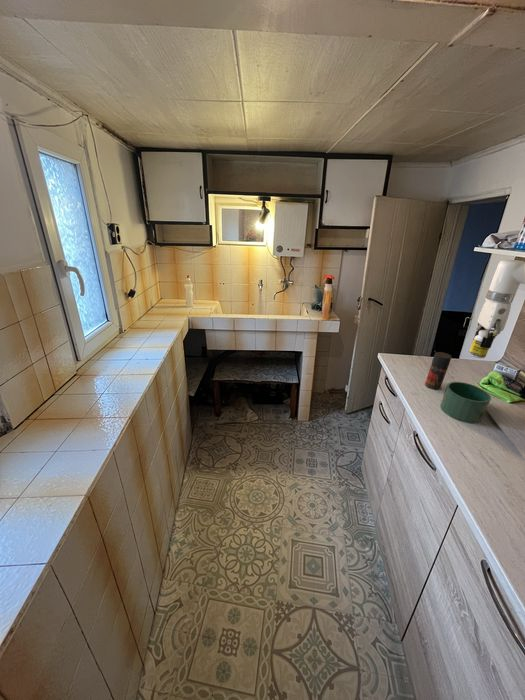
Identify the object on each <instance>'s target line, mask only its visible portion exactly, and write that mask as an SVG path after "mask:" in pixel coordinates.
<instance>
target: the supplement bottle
mask: <svg viewBox="0 0 525 700" xmlns="http://www.w3.org/2000/svg"><path fill="white" fill-rule="evenodd" d="M491 332H492V331H489V334H490V333H491ZM485 334H486V330H480V331H479V335H477V336H475V335H474V336H475V338H474V337H473V339H474V340H473V339H472V342H471V345H470V348H469V350H468V355H469V356H471V357H473V358H477V359H485V358H486V357H487V355H488V352H489V350H490V348H481V347H480V344H481V342H482V339H483V337H485Z"/></svg>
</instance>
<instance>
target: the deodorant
mask: <svg viewBox="0 0 525 700" xmlns="http://www.w3.org/2000/svg"><path fill="white" fill-rule="evenodd" d="M451 359H452V355H451V354H449V353H446V352H443V351H436V352H434V355H433V358H432V361H431V364H430V368H429V369H428V373H427V376H426V380H425V382H424V386H425V387H426V388H428V389H430V390H433V391H440V390H441V388H442V385H443V382H444V379H445V378H446V374H447V371H448V369H449V365H450V363H451Z"/></svg>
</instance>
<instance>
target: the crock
mask: <svg viewBox="0 0 525 700" xmlns="http://www.w3.org/2000/svg"><path fill="white" fill-rule="evenodd" d="M491 401H492V396H491V394H490V393H488V392H487V391H485V390H484V389H483V388H480V387H479V386H476V385H473V384H471V383H467V382H463V381H451V382H449V383H448V384H446V387H445V391H444V393H443V396H442V399H441V400H440V405H439V407H440V409H441V411H442V412H443V413H444V414H445V415H447V416H449V417H450V418H452V419H454V420H457V421H460V422H463V423H468V424H477V423H480V422H481V421H482V420H483V418H484V416H485V414H486V411H487V409H488V406H489V405H490V402H491Z"/></svg>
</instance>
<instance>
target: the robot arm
mask: <svg viewBox="0 0 525 700" xmlns="http://www.w3.org/2000/svg"><path fill="white" fill-rule="evenodd" d="M521 284H522V285H525V261H523V260H517V259H502V260H500V261H498V264H497V267H496V269H495V272H494V274H493V277H492V280H491V282H490V285H489V288H488V290H487V293H486V296H485V302H484V303H483V305H482V307H481V310H480V312H479V315H478V317H477V327H476V330H475V334H474V337H473V339H472V341H473V340H474V338H475V336H477V335H479V331H480V330H486V334H485V337H483V339H482V342H481V344H480V347H481V348H489V349H491V347H492V345H493V342H494V340H495V339H496V337H498V336H499V335H500V334H501V332H503V331H504V330H505V328H506V325H507V321H508V319H509V316H510V312H511V308H512V303H513V302H514V299H515V297H516V294H517V292H518V289H519V287H520V285H521ZM489 331H490V332H491V333H490V334H489Z"/></svg>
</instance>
